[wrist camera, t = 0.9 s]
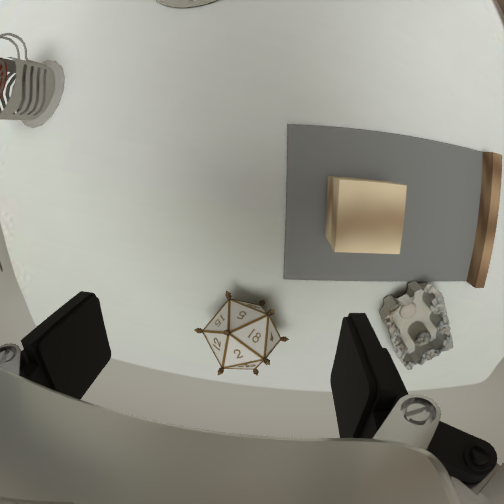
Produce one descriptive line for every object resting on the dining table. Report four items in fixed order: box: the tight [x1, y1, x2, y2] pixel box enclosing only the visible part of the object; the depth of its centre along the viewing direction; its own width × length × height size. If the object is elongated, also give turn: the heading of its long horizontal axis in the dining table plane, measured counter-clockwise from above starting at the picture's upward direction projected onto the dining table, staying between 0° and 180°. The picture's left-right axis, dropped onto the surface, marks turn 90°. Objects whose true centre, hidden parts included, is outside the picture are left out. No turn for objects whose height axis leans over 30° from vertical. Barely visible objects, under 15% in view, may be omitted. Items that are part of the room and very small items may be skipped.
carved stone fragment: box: [380, 281, 453, 370], centre depth 30 cm, size 11×8×4 cm
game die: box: [195, 291, 289, 375], centre depth 30 cm, size 9×8×10 cm
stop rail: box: [466, 152, 502, 288], centre depth 27 cm, size 16×2×2 cm, turn 0°
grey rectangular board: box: [284, 124, 483, 281], centre depth 29 cm, size 16×24×1 cm
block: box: [324, 176, 407, 254], centre depth 26 cm, size 6×6×6 cm
